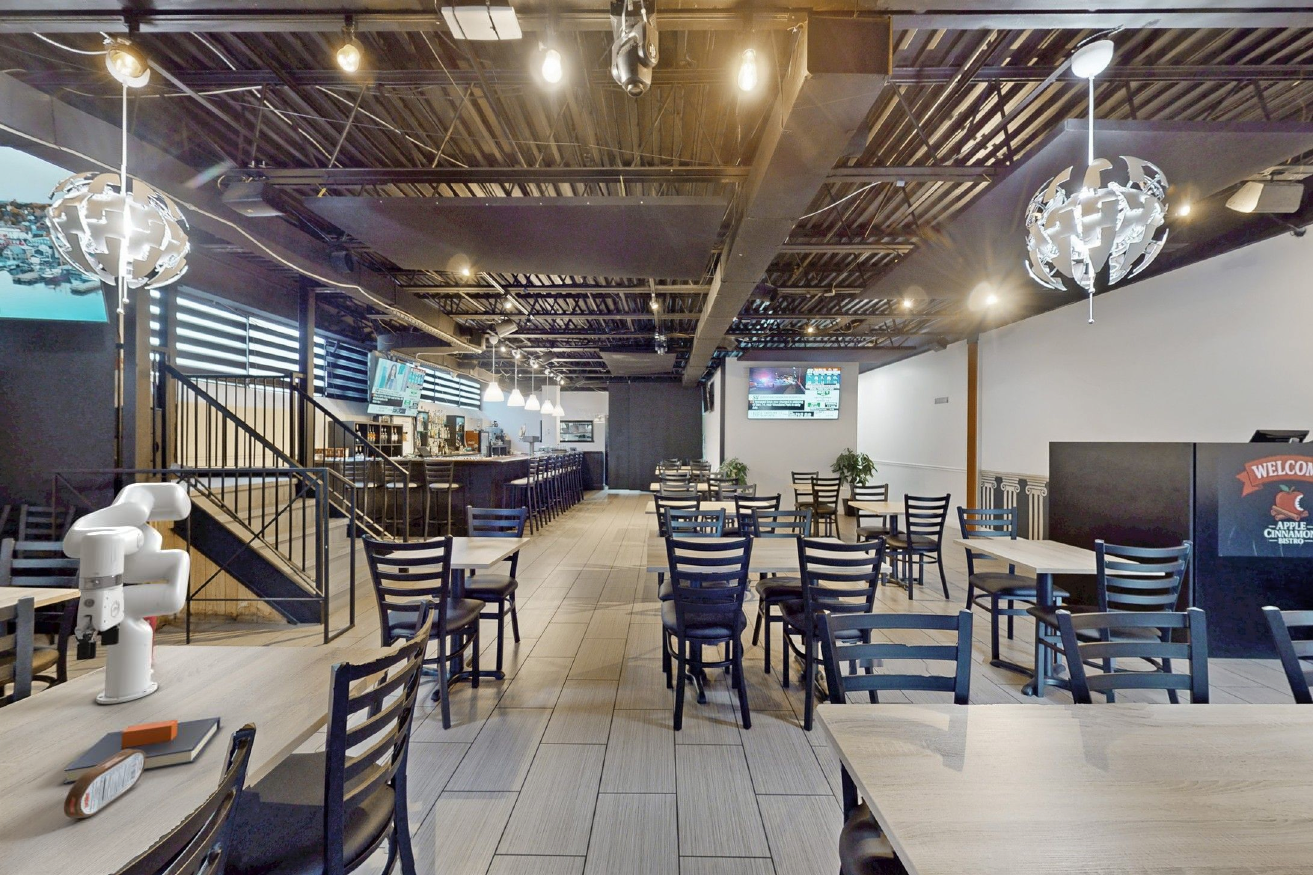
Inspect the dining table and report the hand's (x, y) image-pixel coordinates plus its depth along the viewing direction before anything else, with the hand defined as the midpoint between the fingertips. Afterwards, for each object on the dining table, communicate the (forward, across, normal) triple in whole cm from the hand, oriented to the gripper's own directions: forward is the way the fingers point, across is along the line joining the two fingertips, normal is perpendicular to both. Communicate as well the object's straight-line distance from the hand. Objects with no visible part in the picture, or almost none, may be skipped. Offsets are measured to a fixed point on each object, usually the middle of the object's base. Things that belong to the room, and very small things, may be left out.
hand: (98, 651), depth 129 cm
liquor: (+23, +54, +13) cm, 60 cm away
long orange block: (+19, -11, -15) cm, 27 cm away
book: (+22, -11, -15) cm, 29 cm away
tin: (+22, -30, -16) cm, 41 cm away
